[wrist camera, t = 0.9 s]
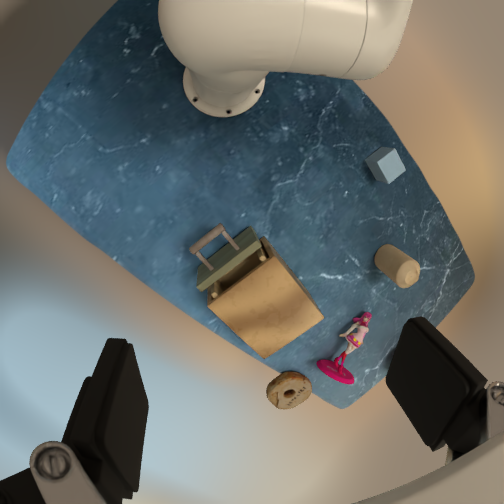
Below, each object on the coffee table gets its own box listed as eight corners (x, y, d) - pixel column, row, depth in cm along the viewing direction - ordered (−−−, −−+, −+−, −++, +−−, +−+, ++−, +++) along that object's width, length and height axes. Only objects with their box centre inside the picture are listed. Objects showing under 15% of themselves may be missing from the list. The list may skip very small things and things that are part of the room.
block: (381, 146, 48) (395, 148, 44) (392, 166, 49) (406, 170, 45) (364, 159, 48) (376, 162, 44) (375, 180, 50) (388, 184, 46)
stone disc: (316, 379, 66) (288, 361, 63) (320, 389, 62) (292, 372, 60) (285, 404, 67) (256, 389, 65) (288, 415, 64) (258, 399, 61)
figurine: (316, 372, 55) (353, 306, 54) (315, 356, 65) (347, 299, 64) (356, 389, 54) (393, 327, 53) (350, 372, 63) (382, 317, 62)
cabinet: (207, 279, 53) (207, 306, 44) (264, 235, 51) (274, 255, 43) (256, 329, 58) (264, 359, 49) (308, 292, 56) (324, 318, 48)
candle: (382, 239, 54) (411, 259, 45) (400, 249, 56) (429, 269, 47) (369, 264, 56) (395, 286, 47) (387, 272, 57) (414, 295, 48)
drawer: (178, 246, 49) (174, 264, 42) (232, 203, 47) (236, 214, 41) (246, 317, 55) (251, 340, 49) (295, 281, 54) (307, 301, 47)
